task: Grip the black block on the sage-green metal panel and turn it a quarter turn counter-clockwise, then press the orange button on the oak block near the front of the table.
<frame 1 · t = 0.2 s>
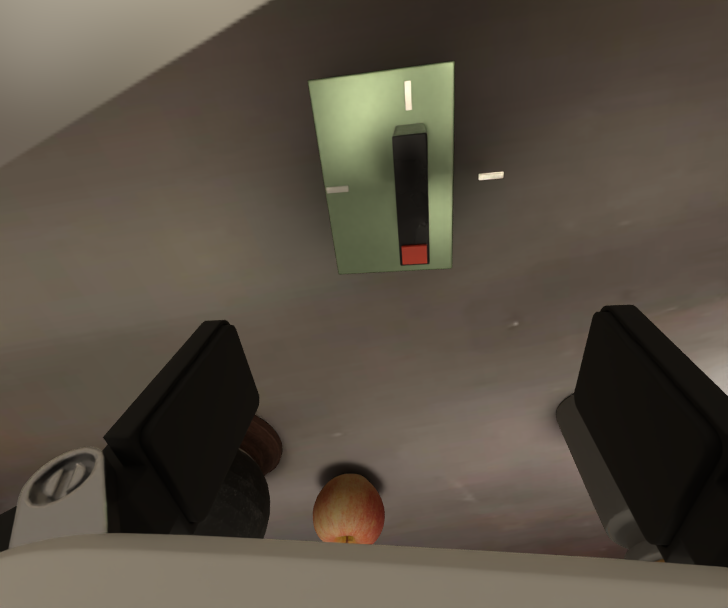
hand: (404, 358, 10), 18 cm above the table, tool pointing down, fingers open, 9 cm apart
apple: (353, 480, 44), on the table
black ball on stand: (235, 439, 42), on the table
bottle: (587, 410, 34), on the table
black block: (412, 193, 20), point 6 cm above the table, hinge at 0.0°
clamp panel: (389, 174, 25), on the table
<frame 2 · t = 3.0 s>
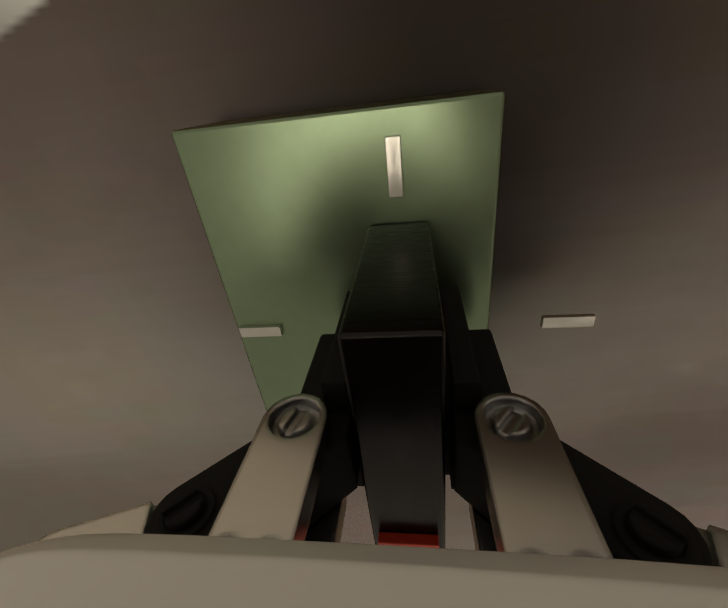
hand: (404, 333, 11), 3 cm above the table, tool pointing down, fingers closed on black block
black block: (404, 385, 9), point 6 cm above the table, hinge at 0.0°, touching gripper
clamp panel: (366, 282, 14), on the table
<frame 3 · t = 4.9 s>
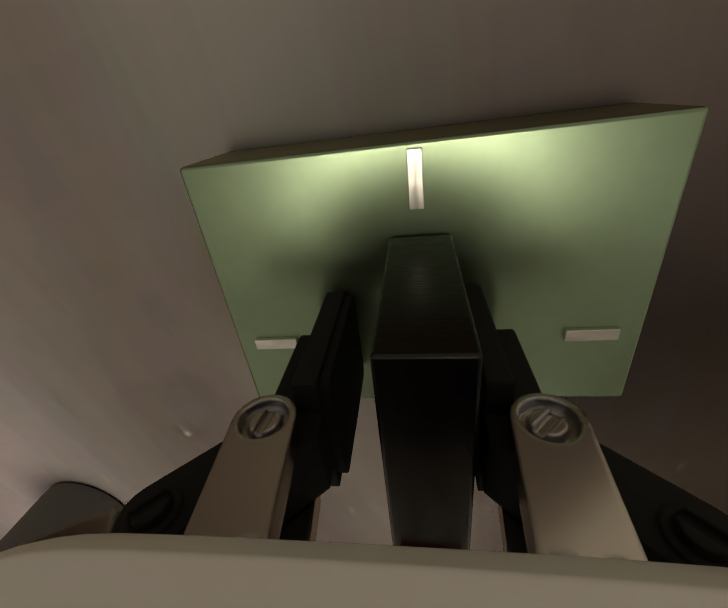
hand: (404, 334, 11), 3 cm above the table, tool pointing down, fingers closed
bottle: (93, 505, 25), on the table
black block: (425, 401, 9), point 6 cm above the table, hinge at 89.2°
clamp panel: (419, 253, 13), on the table
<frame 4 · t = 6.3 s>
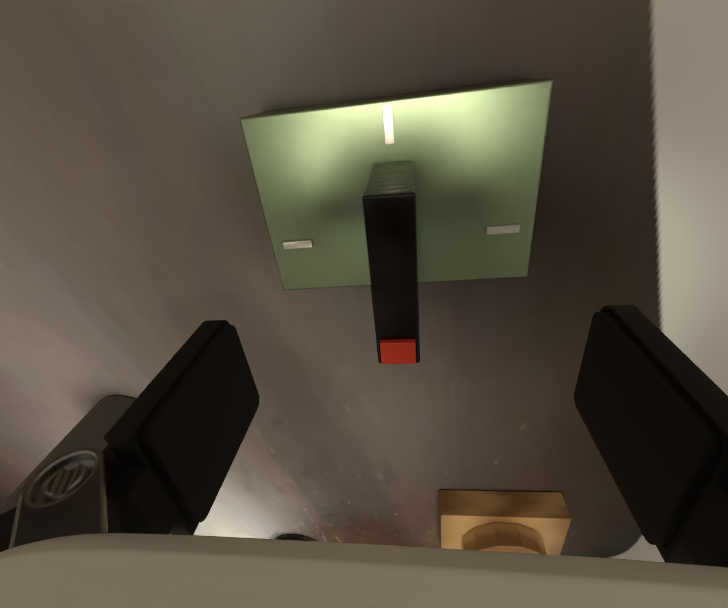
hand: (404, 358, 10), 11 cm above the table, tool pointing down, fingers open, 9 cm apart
bottle: (133, 418, 30), on the table
black block: (395, 261, 14), point 6 cm above the table, hinge at 89.2°
button block: (495, 516, 33), on the table
clamp panel: (395, 186, 18), on the table
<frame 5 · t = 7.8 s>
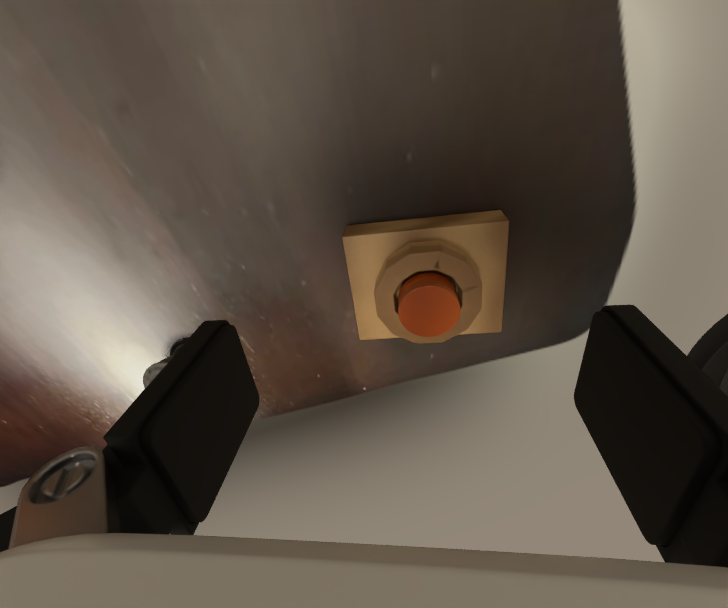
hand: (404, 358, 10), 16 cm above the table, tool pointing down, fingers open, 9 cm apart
button: (428, 305, 22), point 4 cm above the table, slide at 0.1 cm
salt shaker: (201, 360, 32), on the table
button block: (424, 272, 26), on the table
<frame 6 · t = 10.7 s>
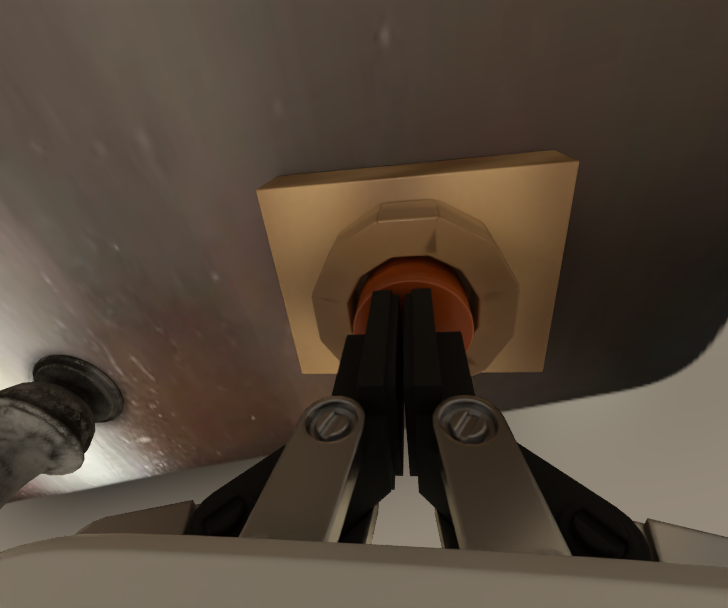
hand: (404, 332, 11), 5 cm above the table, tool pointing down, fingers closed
button: (412, 318, 12), point 4 cm above the table, slide at -0.3 cm, touching gripper
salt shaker: (82, 387, 22), on the table
button block: (412, 264, 15), on the table
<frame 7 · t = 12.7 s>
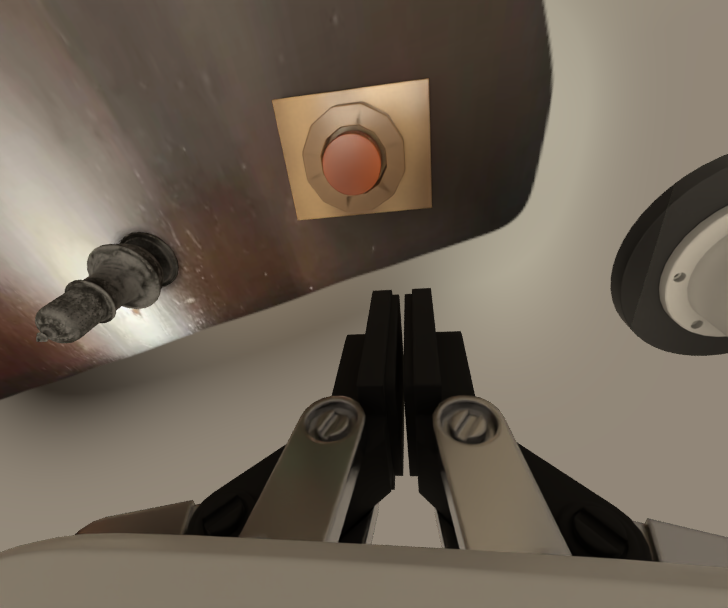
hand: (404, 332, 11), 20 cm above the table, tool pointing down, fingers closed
button: (352, 163, 23), point 4 cm above the table, slide at 0.1 cm
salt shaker: (150, 259, 33), on the table
button block: (359, 151, 27), on the table
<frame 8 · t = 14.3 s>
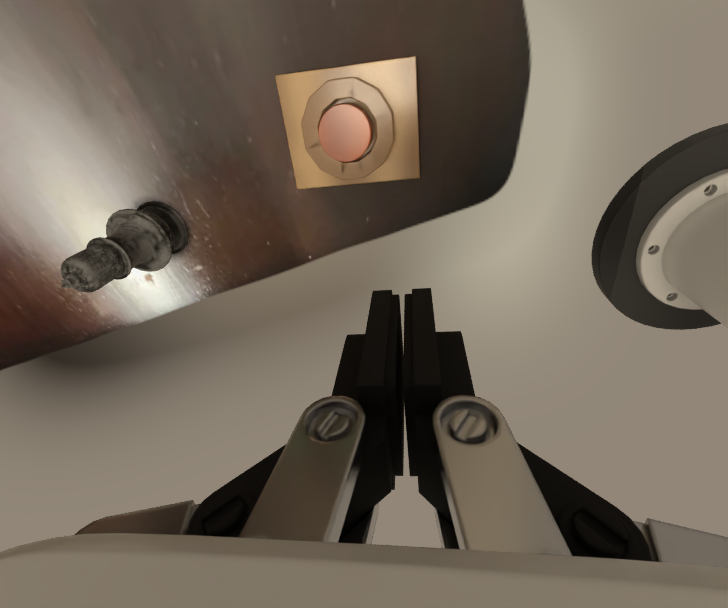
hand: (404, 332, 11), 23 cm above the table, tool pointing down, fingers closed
button: (346, 132, 25), point 4 cm above the table, slide at 0.1 cm
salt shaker: (162, 227, 36), on the table
button block: (354, 126, 29), on the table
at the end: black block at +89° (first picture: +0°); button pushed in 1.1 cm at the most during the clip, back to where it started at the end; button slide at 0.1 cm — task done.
